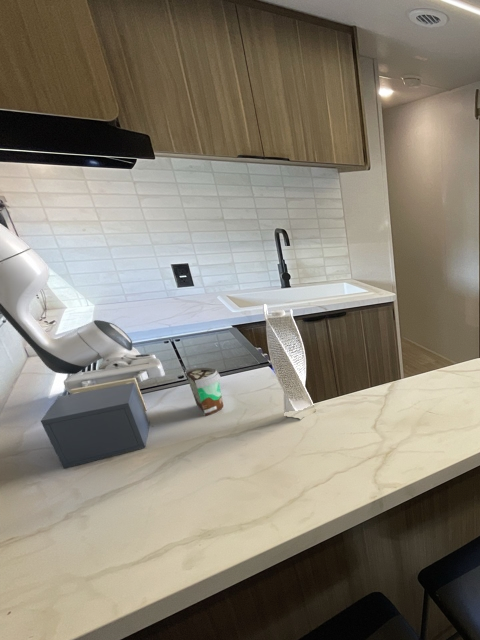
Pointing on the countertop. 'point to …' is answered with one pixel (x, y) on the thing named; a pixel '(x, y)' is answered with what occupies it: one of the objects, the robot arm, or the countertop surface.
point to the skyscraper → (287, 358)
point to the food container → (205, 389)
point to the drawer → (110, 384)
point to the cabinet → (96, 424)
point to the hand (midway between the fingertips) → (114, 384)
